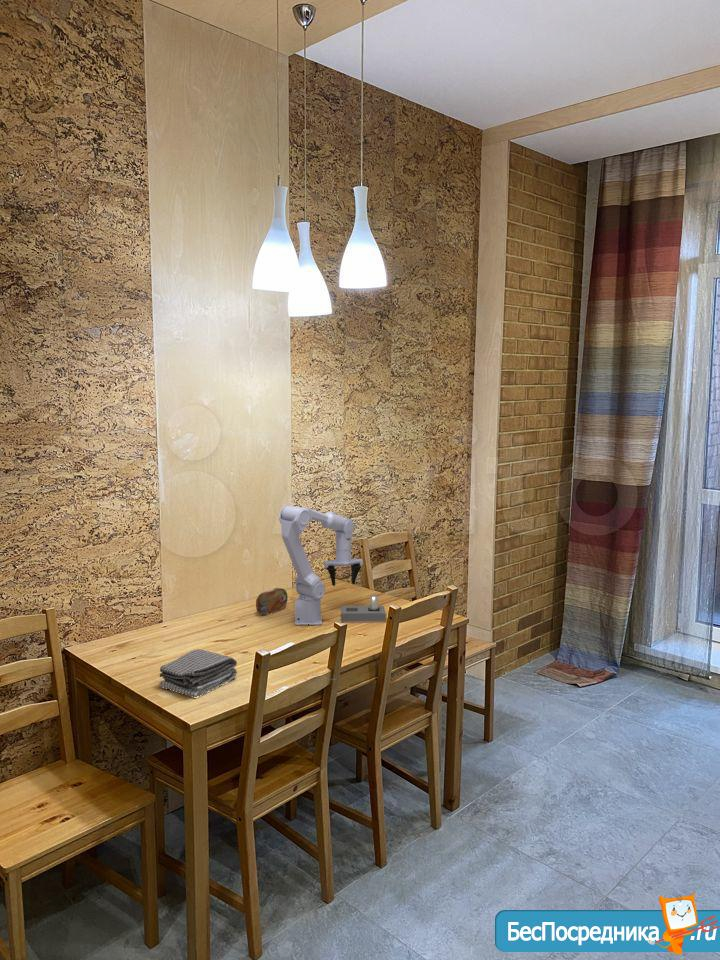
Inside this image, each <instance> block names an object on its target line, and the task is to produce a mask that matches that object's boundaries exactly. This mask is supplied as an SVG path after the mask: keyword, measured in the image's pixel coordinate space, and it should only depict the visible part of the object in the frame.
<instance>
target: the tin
mask: <svg viewBox="0 0 720 960" xmlns="http://www.w3.org/2000/svg"><path fill="white" fill-rule="evenodd" d="M288 597H289V596H288V593H287V591H286V589H285V588H282V587H281V588H279V587H275V588H273V589H269V590H267V591H264V592H261V593H259V594H258V596H257V597H256V599H255V608H256V612H257V613H258V614H260V615H264V616H269V615H272V614H274V613H277V612H279V610H280V611H282V610H283V609H285V607H286V606H287V603H288ZM276 611H277V612H276ZM271 613H272V614H271ZM268 614H269V615H268Z"/></svg>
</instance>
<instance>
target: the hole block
mask: <svg viewBox="0 0 720 960" xmlns="http://www.w3.org/2000/svg"><path fill="white" fill-rule="evenodd" d="M386 617H387V616H386V609H385V605H378V611H370V605H341V606H340V623H341V622H346V623H345V624H357V623H359V624H360V623H361V624H368V623H369V624H372V623H375V624H376V623H378V624H379V623H380V624H381V623H383V624H384V623H385V624H386Z"/></svg>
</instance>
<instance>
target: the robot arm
mask: <svg viewBox="0 0 720 960" xmlns="http://www.w3.org/2000/svg"><path fill="white" fill-rule="evenodd" d="M278 520H279V522H280V530H281V539H282V541H283V543H284V546H285V547H286V550H287V553H288V555H289V558H290V560H291V563H292V565H293V568H294V570H295V572H296V575H297V576H296V577H295V579H294V582H295V590H296V593H298V595H299V597H295V599H294V614H293V615H294V625H295V626H312V625H313V626H318V625H319V626H321V625H322V623H323V617H322V615H321V614H322V613H321V612H322V611H321V610H322V609H321V603H322V602H321V599H323V597H324V595H325V592H326V585H325V584H324V583H323V582H322V581H321V578H320V577H319V576H318V575H317V574H316V573H314V571H313V569H312V566H311V564H310V561H309V559H308V556H307V553H306V551H305V549H304V547H303V544H302V541H301V539H300V536H301V535H302V534H303V532H304V531H305V529H306V527H307V526H308V525H309V522H312V520H313V521H315V522H319V523H321V526H322V527H324V528H326V529H330V530H332V531H334V532H335V559H332V560H325V561H323V567H324V568H326V570H327V571H328V574H329V577H330V580H331V585H332V586H333V587H336V572H337V571H336V570H337V569H336V568H335V567H345V566H346V567H348V566H350V568H351V570H350V571H351V577H350V578H351V584H352V585H355V584H356V581H357V577H358V575H359V572H360V570H361V567H362V566H363V564H364V563H363V559H362V558H352V537H353V532H354V530H355V529H356V526H355V523H354V521H353V519H351V518H348V517H344V515H343V514H336V511H331V510H330V511H327V512H325V513H322V512H320V511H318V510H315V509H313V508H309V507H303V506H295V505H289V504H286V505H284V506H283V507H282V508H281V509H280V513H279V514H278ZM308 624H309V625H308Z"/></svg>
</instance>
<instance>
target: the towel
mask: <svg viewBox="0 0 720 960" xmlns="http://www.w3.org/2000/svg"><path fill="white" fill-rule="evenodd" d="M237 664H238V662H237V660H236V659H234V658H233V657H231V656H229V655H224V654H221V653H217V652H212V651H209V650H208V651H207V650H204V649H199V648H198V649H197V648H196V649H193V650H191V651H188V652H187V653H185V654H182V655H181V656H180V657H178V658H177V659H174V660H173V661H170V662H168V663H165V664H163V665H162V666H160V670H159V671H160V674H159V677H160V678H162V679H163V680H160V681H159V685H160V688H161V687H164V688H167V689H171V690H174V691H177V692H180V693H179V694H181V693H183V694H187V695H189V696H193V697H197V696H200V695H202V694H204V693H207V692H208V691H211V690H212V689H215V688H216V687H218V686H221V685H222V684H225V683H226V682H229V681H230V682H232V681H233V680H234V679H235V678H236V676H237V673H238V670H237V669H236V666H237ZM230 682H229V683H230ZM225 685H226V684H225ZM221 687H222V686H221ZM164 688H163V689H164ZM167 689H166V690H167ZM171 690H170V691H171ZM215 690H216V689H215ZM174 691H173V692H174ZM177 692H176V693H177ZM211 692H212V691H211ZM183 694H182V695H183ZM207 694H208V693H207ZM189 696H188V697H189ZM202 696H203V695H202Z"/></svg>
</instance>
